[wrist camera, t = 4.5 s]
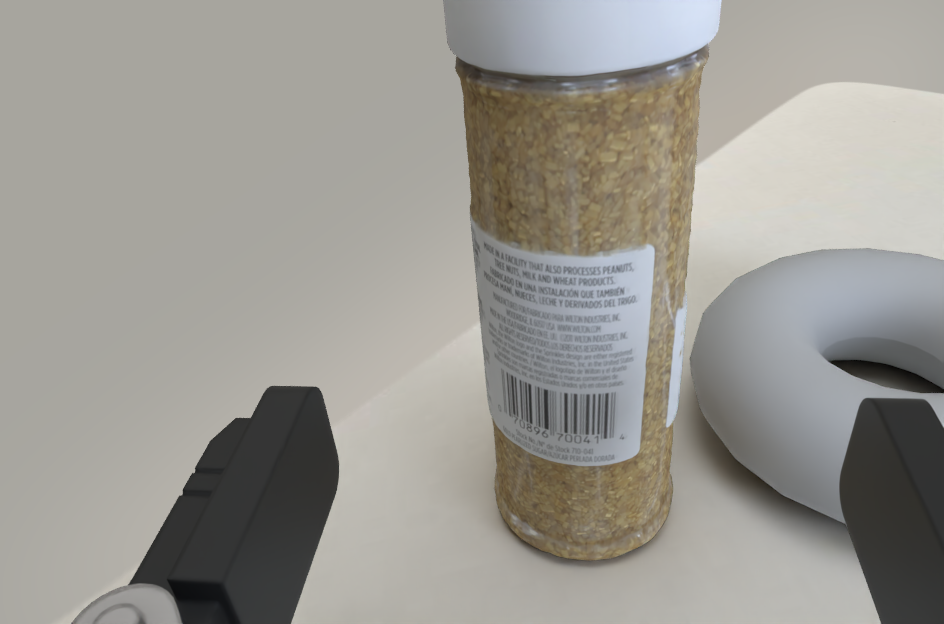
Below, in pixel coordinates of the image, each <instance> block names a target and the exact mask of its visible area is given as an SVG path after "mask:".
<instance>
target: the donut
mask: <svg viewBox="0 0 944 624" xmlns="http://www.w3.org/2000/svg"><path fill="white" fill-rule="evenodd" d="M833 360H865V361H871V362H877V363H883V364H889V365H892V366H895V367H898V368H901V369H904V370H907V371H910V372H913V373H915V374H917V375H919V376H921V377H923V378H925V379H927V380H929V381H930V382H932V383H934V384H936V385H938V386H940V387H941V388H942V389H943V390H944V260H940V259H936V258H932V257H928V256H924V255H920V254H912V253H903V252H895V251H886V250H877V249H869V248H866V249H829V250H817V251H812V252H807V253H802V254H797V255H792V256H787V257H782V258H779V259H777V260H775V261H772V262H770V263H768V264H766V265H764V266H762V267H759V268H757V269H755V270H753V271H751V272H749V273H747V274H745V275H743V276H741V277H738V278H736V279H735V280H734V281H733V282H732V283H731V284H730V285H729V286H728V287H727V288H726V289H725V290H724V291H723V292H722V293H721V294H720V295H719V296H718V297H717V298H716V299H715V300H714V301H713V302H712V303H711V305H710V306H709V307H708V308H707V309H706V310H705V312H704V313H703V315H702V318H701V321H700V324H699V328H698V331H697V335H696V338H695V342H694V345H693V349H692V352H691V356H690V366H691V374H692V378H693V382H694V386H695V390H696V394H697V398H698V402H699V406H700V410H701V411H702V413H703V415H704V417H705V418H706V420H707V422H708V423H709V424H710V426H711V427H712V428H713V430H714V431H715V432H716V434H717V435H718V436H719V438H720V439H721V440H722V442H723V443H724V444H725V446H726V447H727V448H728V450H729V451H730V453H731V454H732V455H733V457H734V458H735V459H736V460H737V461H739V462H740V463H741V464H742V465H744V466H745V467H746V468H748V469H749V470H750V471H752V472H753V473H754V474H756V475H757V476H758V477H759V478H761V479H762V480H763V481H765V482H766V483H767V484H769V485H770V486H771V487H773V488H774V489H775V490H777V491H778V492H779V493H780V494H782V495H783V496H785V497H788V498H790V499H792V500H794V501H796V502H798V503H801V504H803V505H805V506H807V507H809V508H811V509H814V510H816V511H818V512H820V513H822V514H825V515H827V516H829V517H831V518H833V519H835V520H838V521H840V522H842V523H844V524H846V522H845V520H844V517H843V513H842V509H841V504H840V494H839V481H840V473H841V469H842V465H843V462H844V458H845V455H846V451H847V447H848V444H849V440H850V437H851V433H852V429H853V426H854V422H855V419H856V415H857V412H858V408H859V405H860V403H861V402H862V400H863V399H865V398H915V399H925V400H926V401H928V402H929V403H930V405H931V406H932V408H933V409H934V411H935V413H936V415H937V417H938V418H939V420H940V422H941V424H942V426H943V427H944V393H916V392H910V391H905V390H899V389H893V388H887V387H883V386H880V385H878V384H875V383H872V382H869V381H866V380H863V379H861V378H858V377H855V376H852V375H850V374H848V373H847V372H845V371H843V370H842V369H840V368H838V367H836V366H835V365H833V364H831V363H829V362H828V361H833Z"/></svg>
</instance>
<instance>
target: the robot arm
mask: <svg viewBox="0 0 944 624" xmlns="http://www.w3.org/2000/svg"><path fill="white" fill-rule="evenodd" d="M338 478H339V460H338V454H337V450H336V446H335V442H334V438H333V434H332V430H331V426H330V422H329V419H328V415H327V411H326V407H325V403H324V399H323V395H322V393H321V391H320V390H319V388H317V387H301V386H299V387H298V386H271V387H269V388H267V390H266V391H265V392H264V394H263V396H262V398H261V400H260V401H259V403H258V405H257V407H256V409H255V411H254V413H253V415H252V417H251V418H235V419H234V420H233V421H232V422H231V423H230V424H229V425H228V426H227V427H225V428H224V429H223V430H222V431H221V432H220V433H219V434H218V435H216V436H215V437H214V438H213V439H212V440H211V441H210V443H209V444H208V446H207V448H206V450H205V452H204V453H203V455H202V457H201V458H200V460H199V462H198V464H197V466H196V468H195V473H192V475H191V476H190V478H189V480H188V481H187V483H186V485H185V487H184V488H183V495H182V496H179V497H178V499H177V501H176V503H175V504H174V506H173V508H172V510H171V512H170V513H169V515H168V517H167V519H166V520H165V522H164V524H163V526H162V527H161V529H160V531H159V533H158V534H157V536H156V538H155V540H154V541H153V543H152V545H151V547H150V549H149V550H148V552H147V554H146V556H145V558H144V559H143V561H142V563H141V564H140V566H139V568H138V570H137V572H136V573H135V575H134V577H133V578H132V580H131V581H130V583H129V584H128V585H127V586H123V587H120V588H117V589H115V590H112V591H110V592H108V593H106V594H104V595H103V596H101V597H99V598H98V599H96V600H95V601H93V602H92V603H91V604H90V605H88V606H87V607H86V608H85V609H84V610H83V611H82V612H81V613H80V614H79V615H78V616H77V617H76V618H75V619H74V621H73V622H72V623H71V624H291V621H292V618H293V616H294V613H295V610H296V607H297V604H298V601H299V598H300V595H301V593H302V590H303V587H304V584H305V581H306V578H307V575H308V572H309V570H310V567H311V564H312V561H313V558H314V555H315V552H316V549H317V547H318V544H319V541H320V538H321V535H322V532H323V529H324V526H325V524H326V521H327V518H328V515H329V512H330V509H331V506H332V503H333V500H334V498H335V494H336V491H337V486H338ZM839 494H840V504H841V509H842V513H843V517H844V520H845V522H846V525H847V528H848V531H849V534H850V537H851V539H852V542H853V545H854V548H855V551H856V553H857V556H858V559H859V562H860V565H861V567H862V570H863V573H864V576H865V579H866V582H867V584H868V587H869V590H870V593H871V596H872V598H873V601H874V604H875V607H876V610H877V613H878V615H879V618H880V621H881V624H944V427H943V426H942V424H941V422H940V420H939V418H938V417H937V415H936V413H935V411H934V409H933V408H932V406H931V405H930V403H929V402H928V401H926V400H925V399H915V398H865V399H863V400H862V402H861V403H860V405H859V408H858V412H857V415H856V419H855V422H854V426H853V429H852V433H851V437H850V440H849V444H848V447H847V451H846V455H845V458H844V462H843V465H842V469H841V473H840V481H839Z"/></svg>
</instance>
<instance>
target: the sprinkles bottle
mask: <svg viewBox="0 0 944 624" xmlns="http://www.w3.org/2000/svg"><path fill="white" fill-rule="evenodd" d="M443 1H444V12H445V23H446V33H447V43H448V45H449V48H450V50H451V51H452V52H453V54H455V55H456V56H457V57H456V67H455V69H456V72H457V74H458V76H459V77H460V80H461V86H462V90H463V95H464V118H465V126H466V140H467V152H468V162H469V176H470V189H471V205H470V220H471V230H472V241H473V251H474V261H475V270H476V281H477V291H478V300H479V312H480V323H481V334H482V344H483V353H484V365H485V376H486V387H487V397H488V404H489V410H490V413H491V415H492V420H493V426H494V437H495V450H496V462H497V469H496V475H495V493H496V500H497V505H498V508H499V510H500V512H501V514H502V516H503V518H504V520H505V521H506V522H507V523H508V525H509V526H510V528H511V529H512V530H513V531H514V532H515V533H516V534H517V535H518V536H519V538H520V539H522V540H524V541H526V542H527V543H529V544H530V545H532V546H534V547H535V548H538V549H540V550H541V551H544V552H549V553H552V554H553V555H555V556H559V557H564V558H568V559H578V560H601V559H609V558H613V557H617V556H620V555H622V554H624V553H626V552H629V551H631V550H633V549H636V548H638V547H639V546H641V545H643V544H645V543H646V542H648V541H650V540H651V539H652V538H653V537H654V536H655V535H656V533H657V532H658V531H659V529H660V528H661V527H662V525H663V523H664V522H665V520H666V517H667V515H668V512H669V509H670V504H671V499H672V494H673V484H672V478H671V474H670V471H669V470H670V461H671V454H672V453H671V449H672V441H673V421H674V418H675V416H676V413H677V409H678V404H679V394H680V382H681V373H682V363H683V351H684V335H685V324H686V313H687V295H686V291H685V279H686V276H687V260H688V255H689V237H690V232H691V211H692V206H693V190H694V181H695V164H696V158H697V136H698V128H699V125H698V117H699V109H700V106H699V105H700V102H699V88H700V84H701V75H702V71H703V68H704V66H705V64H706V62H707V60H708V57H709V52H708V51H709V45H708V43H709V42H710V41H711V40H712V39H713V38H714V36H715V35H716V33H717V31H718V29H719V21H720V10H721V1H722V0H443Z"/></svg>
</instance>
